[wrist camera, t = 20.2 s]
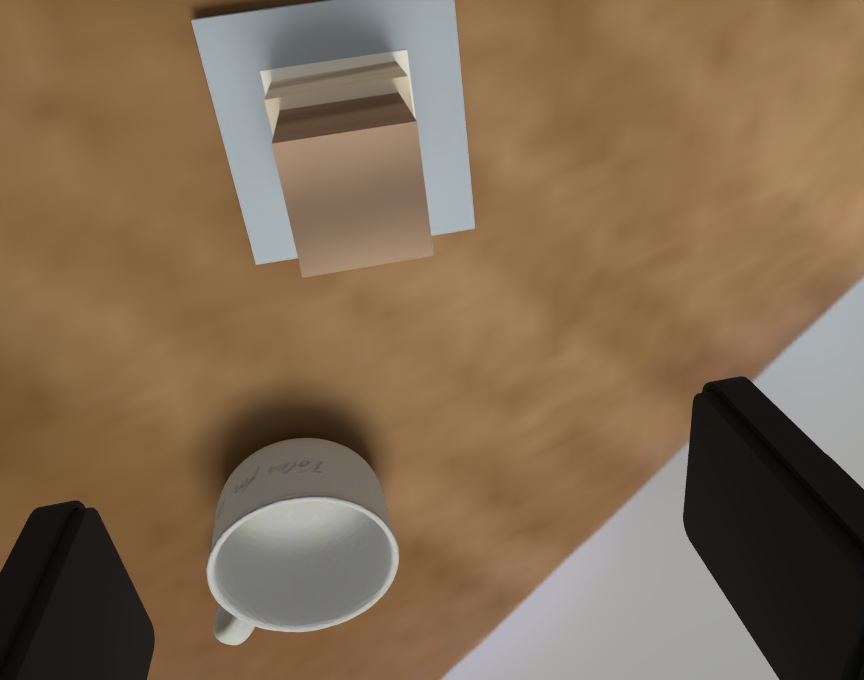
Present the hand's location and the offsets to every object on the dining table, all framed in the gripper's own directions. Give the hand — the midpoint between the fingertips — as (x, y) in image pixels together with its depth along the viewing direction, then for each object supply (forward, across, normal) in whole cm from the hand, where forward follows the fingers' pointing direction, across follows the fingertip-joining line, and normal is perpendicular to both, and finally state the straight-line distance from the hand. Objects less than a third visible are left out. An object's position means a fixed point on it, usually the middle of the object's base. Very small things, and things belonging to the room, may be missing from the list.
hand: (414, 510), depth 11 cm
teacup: (+28, +8, +23) cm, 37 cm away
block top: (+22, 0, 0) cm, 22 cm away
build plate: (+28, 0, 0) cm, 28 cm away
